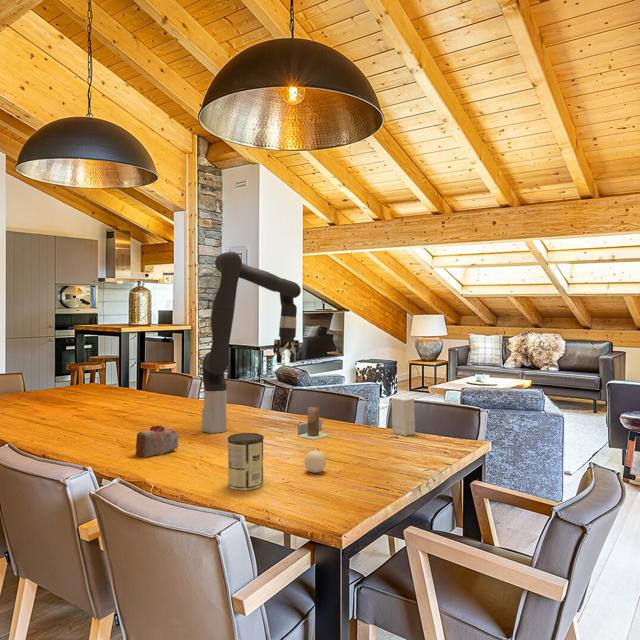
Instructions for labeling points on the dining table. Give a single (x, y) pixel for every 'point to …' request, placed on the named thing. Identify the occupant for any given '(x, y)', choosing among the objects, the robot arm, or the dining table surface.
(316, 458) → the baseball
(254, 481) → the coffee can
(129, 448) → the dining table surface
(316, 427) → the pin
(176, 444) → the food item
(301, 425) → the wall
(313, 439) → the mat
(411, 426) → the skincare box
